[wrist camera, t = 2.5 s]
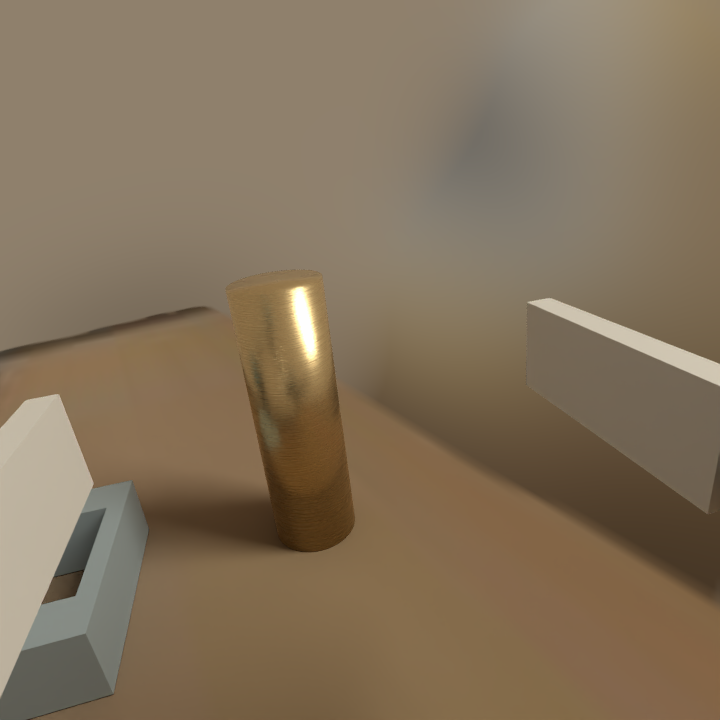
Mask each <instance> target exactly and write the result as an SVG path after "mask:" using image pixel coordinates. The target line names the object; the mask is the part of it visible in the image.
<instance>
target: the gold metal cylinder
mask: <svg viewBox="0 0 720 720" xmlns="http://www.w3.org/2000/svg"><path fill="white" fill-rule="evenodd" d="M226 294H227V299H228V303H229V308H230V313H231V317H232V322H233V327H234V331H235V336H236V341H237V345H238V350H239V355H240V359H241V364H242V369H243V373H244V378H245V383H246V387H247V392H248V397H249V401H250V406H251V410H252V415H253V420H254V424H255V429H256V434H257V438H258V443H259V448H260V452H261V457H262V462H263V466H264V471H265V476H266V480H267V485H268V490H269V494H270V499H271V504H272V508H273V513H274V518H275V522H276V527H277V531H278V536H279V538H280V540H281V541H282V542H283V543H284V544H285V545H286V546H288V547H289V548H291V549H294V550H297V551H303V552H314V551H320V550H324V549H328V548H330V547H332V546H335V545H336V544H338V543H340V542H341V541H342V540H344V539H345V538H346V537H347V536H348V535H349V533H350V532H351V530H352V529H353V526H354V522H355V516H354V508H353V501H352V493H351V486H350V478H349V471H348V464H347V456H346V449H345V441H344V434H343V426H342V419H341V412H340V404H339V397H338V389H337V382H336V375H335V367H334V360H333V352H332V345H331V337H330V331H329V323H328V315H327V308H326V300H325V293H324V285H323V278H322V274H321V273H319V272H316V271H312V270H284V271H275V272H268V273H262V274H258V275H254V276H250V277H246V278H243V279H240V280H237V281H235V282H233V283H231V284H229V285H228V286H227V287H226Z"/></svg>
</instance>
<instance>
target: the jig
mask: <svg viewBox="0 0 720 720" xmlns="http://www.w3.org/2000/svg"><path fill="white" fill-rule="evenodd" d="M148 532H149V528H148V525H147V522H146V519H145V516H144V513H143V510H142V507H141V504H140V501H139V498H138V496H137V493H136V490H135V487H134V484H133V481H132V480H130V481H126V482H121V483H117V484H112V485H108V486H103V487H99V488H94V489H91V491H90V493H89V496H88V498H87V500H86V503H85V505H84V507H83V509H82V512H81V514H80V516H79V519H78V521H77V523H76V525H75V528H74V530H73V532H72V535H71V537H70V539H69V542H68V544H67V546H66V548H65V551H64V553H63V555H62V558H61V560H60V562H59V565H58V567H57V569H56V571H55V574H54V576H53V577H55V576H59V575H63V574H67V573H71V572H76V571H80V570H84V569H85V571H84V574H83V576H82V579H81V582H80V585H79V588H78V591H77V593H76V596H74V597H70V598H66V599H62V600H58V601H54V602H50V603H46V604H42V605H41V606H40V608H39V610H38V613H37V615H36V617H35V620H34V622H33V624H32V627H31V629H30V631H29V633H28V636H27V638H26V640H25V643H24V645H23V647H22V650H21V652H20V654H19V656H18V659H17V661H16V663H15V666H14V668H13V670H12V672H11V675H10V677H9V679H8V682H7V684H6V686H5V689H4V691H3V693H2V695H1V698H0V720H27V719H31V718H34V717H38V716H41V715H44V714H48V713H51V712H54V711H58V710H61V709H65V708H68V707H71V706H75V705H78V704H82V703H85V702H88V701H92V700H95V699H98V698H102V697H105V696H109V695H112V694H114V689H115V684H116V680H117V675H118V670H119V666H120V661H121V657H122V652H123V647H124V643H125V638H126V633H127V629H128V624H129V620H130V615H131V610H132V606H133V601H134V596H135V592H136V587H137V582H138V578H139V573H140V569H141V564H142V559H143V555H144V550H145V545H146V541H147V536H148Z"/></svg>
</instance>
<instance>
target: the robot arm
mask: <svg viewBox="0 0 720 720" xmlns="http://www.w3.org/2000/svg"><path fill="white" fill-rule="evenodd" d="M526 358H527V360H526V385H527V386H529V387H530V388H532V389H533V390H534V391H536V392H537V393H539V394H540V395H541V396H543V397H544V398H546V399H547V400H548V401H550V402H551V403H553V404H554V405H556V406H557V407H558V408H560V409H561V410H563V411H564V412H565V413H567V414H568V415H569V416H571V417H572V418H574V419H575V420H576V421H578V422H579V423H581V424H582V425H583V426H585V427H586V428H588V429H589V430H591V431H592V432H593V433H595V434H596V435H597V436H599V437H600V438H602V439H603V440H605V441H606V442H607V443H609V444H610V445H611V446H613V447H614V448H616V449H617V450H618V451H620V452H621V453H623V454H624V455H626V456H627V457H628V458H630V459H631V460H632V461H634V462H635V463H637V464H638V465H640V466H641V467H642V468H644V469H645V470H647V471H648V472H649V473H651V474H652V475H654V476H655V477H656V478H658V479H659V480H661V481H662V482H664V483H665V484H666V485H668V486H669V487H670V488H672V489H673V490H675V491H676V492H677V493H679V494H680V495H682V496H683V497H684V498H686V499H687V500H689V501H690V502H691V503H693V504H694V505H696V506H697V507H698V508H700V509H701V510H703V511H704V512H706V513H707V514H710V513H713V512H716V511H720V364H718V363H716V362H713V361H711V360H708V359H705V358H703V357H700V356H698V355H695V354H693V353H690V352H687V351H685V350H682V349H680V348H677V347H675V346H672V345H670V344H667V343H664V342H662V341H659V340H657V339H654V338H652V337H649V336H646V335H644V334H641V333H639V332H636V331H634V330H631V329H629V328H626V327H623V326H620V325H618V324H616V323H613V322H611V321H608V320H605V319H603V318H600V317H598V316H595V315H593V314H590V313H587V312H585V311H582V310H579V309H577V308H575V307H572V306H570V305H567V304H564V303H562V302H559V301H557V300H554V299H551V298H547V299H541V300H537V301H531V302H527V357H526ZM93 484H94V483H93V481H92V478H91V475H90V473H89V470H88V468H87V465H86V463H85V460H84V458H83V455H82V452H81V450H80V447H79V445H78V442H77V440H76V437H75V435H74V432H73V429H72V427H71V424H70V422H69V419H68V417H67V414H66V412H65V409H64V406H63V404H62V401H61V399H60V396H59V394H56V395H50V396H45V397H40V398H35V399H30V400H26V401H25V402H24V403H23V404H22V405H21V406H20V407H19V408H18V409H17V411H16V412H15V413H14V414H13V415H12V416H11V417H10V418H9V420H8V421H7V422H6V423H5V424H4V425H3V426H2V427H1V429H0V698H1V695H2V693H3V691H4V689H5V686H6V684H7V682H8V679H9V677H10V675H11V672H12V670H13V668H14V666H15V663H16V661H17V659H18V656H19V654H20V652H21V650H22V647H23V645H24V643H25V640H26V638H27V636H28V633H29V631H30V629H31V627H32V624H33V622H34V620H35V617H36V615H37V613H38V610H39V608H40V606H41V604H42V601H43V599H44V597H45V594H46V592H47V590H48V587H49V585H50V583H51V581H52V578H53V576H54V574H55V571H56V569H57V567H58V565H59V562H60V560H61V558H62V555H63V553H64V551H65V548H66V546H67V544H68V542H69V539H70V537H71V535H72V532H73V530H74V528H75V525H76V523H77V521H78V519H79V516H80V514H81V512H82V509H83V507H84V505H85V503H86V500H87V498H88V496H89V493H90V491H91V489H92V486H93Z"/></svg>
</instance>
